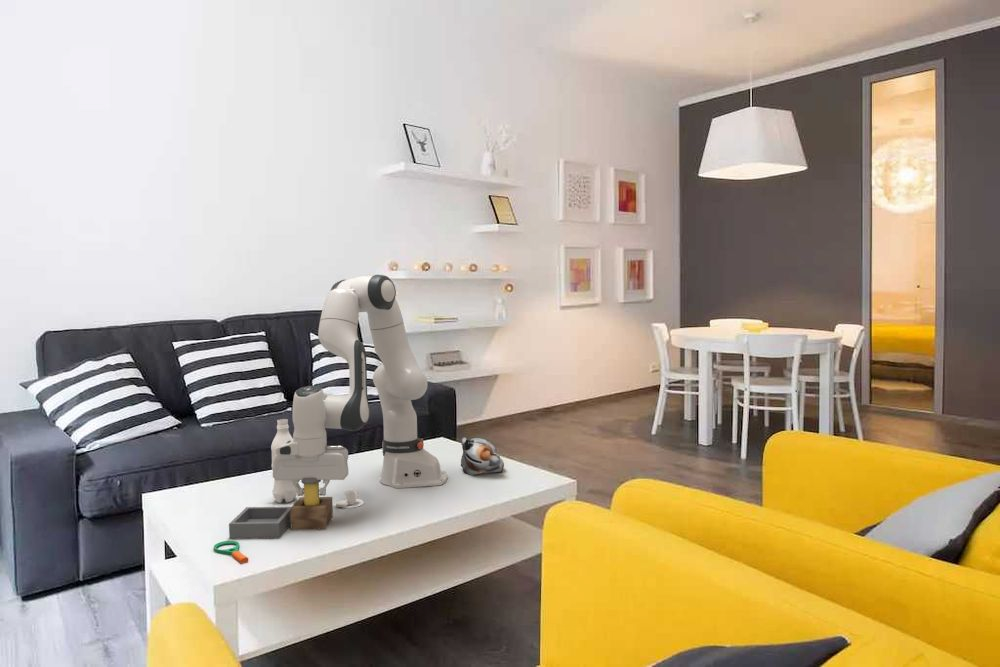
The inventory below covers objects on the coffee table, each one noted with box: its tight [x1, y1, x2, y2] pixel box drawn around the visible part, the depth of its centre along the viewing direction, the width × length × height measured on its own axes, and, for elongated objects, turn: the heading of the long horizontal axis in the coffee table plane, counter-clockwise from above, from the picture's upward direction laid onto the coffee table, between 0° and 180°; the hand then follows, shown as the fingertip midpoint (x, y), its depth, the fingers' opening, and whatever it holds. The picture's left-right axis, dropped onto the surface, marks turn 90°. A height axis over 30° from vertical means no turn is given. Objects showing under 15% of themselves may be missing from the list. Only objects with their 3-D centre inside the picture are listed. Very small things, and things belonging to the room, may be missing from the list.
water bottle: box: [270, 418, 297, 504], centre depth 210 cm, size 7×7×25 cm
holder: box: [290, 496, 334, 531], centre depth 191 cm, size 9×9×6 cm
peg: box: [300, 478, 322, 506], centre depth 190 cm, size 5×5×14 cm
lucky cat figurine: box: [460, 437, 505, 476], centre depth 238 cm, size 17×14×16 cm
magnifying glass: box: [213, 540, 249, 564], centre depth 171 cm, size 15×6×2 cm, turn 42°
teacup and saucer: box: [334, 489, 365, 509], centre depth 207 cm, size 9×8×4 cm
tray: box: [228, 506, 292, 540], centre depth 187 cm, size 13×13×4 cm
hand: (311, 494), depth 190 cm, fingers closed on peg, 5 cm apart
